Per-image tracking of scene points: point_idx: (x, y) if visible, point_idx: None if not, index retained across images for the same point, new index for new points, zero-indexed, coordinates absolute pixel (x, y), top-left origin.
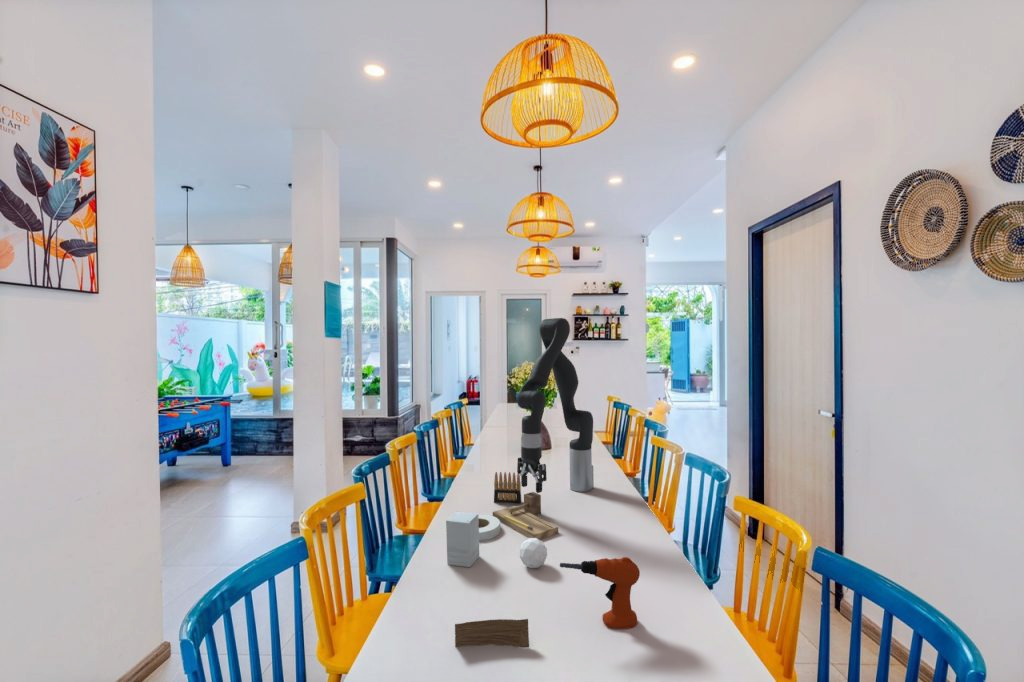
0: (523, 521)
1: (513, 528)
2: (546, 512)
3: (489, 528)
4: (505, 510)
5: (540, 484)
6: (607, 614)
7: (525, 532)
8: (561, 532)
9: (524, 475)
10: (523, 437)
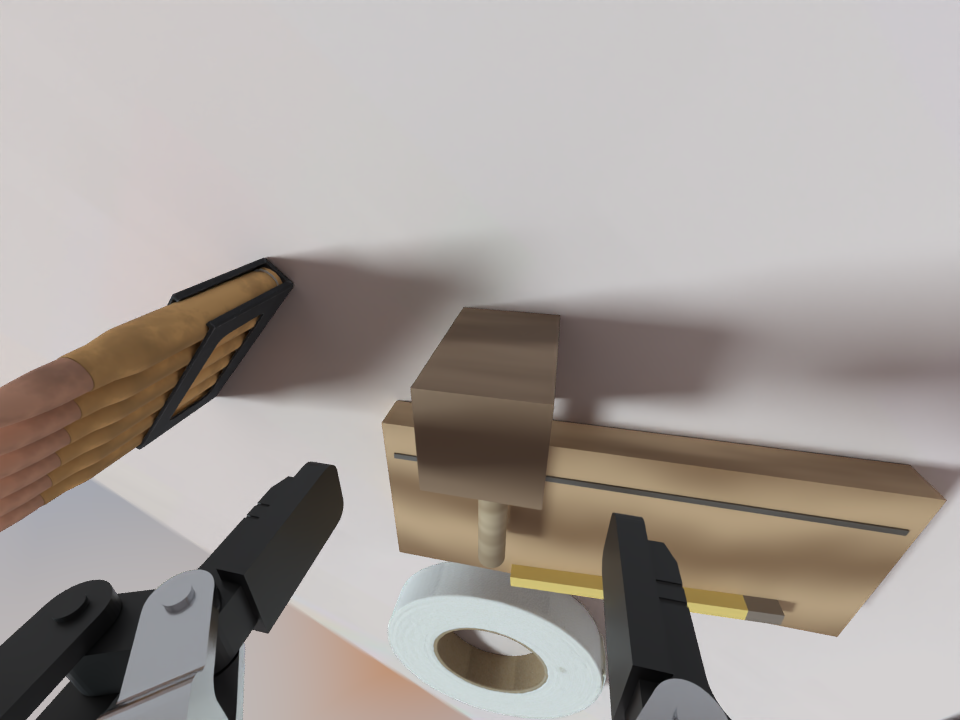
0: None
1: None
2: (566, 254)
3: (580, 679)
4: (421, 506)
5: (674, 661)
6: None
7: None
8: (932, 445)
9: (235, 623)
10: None
